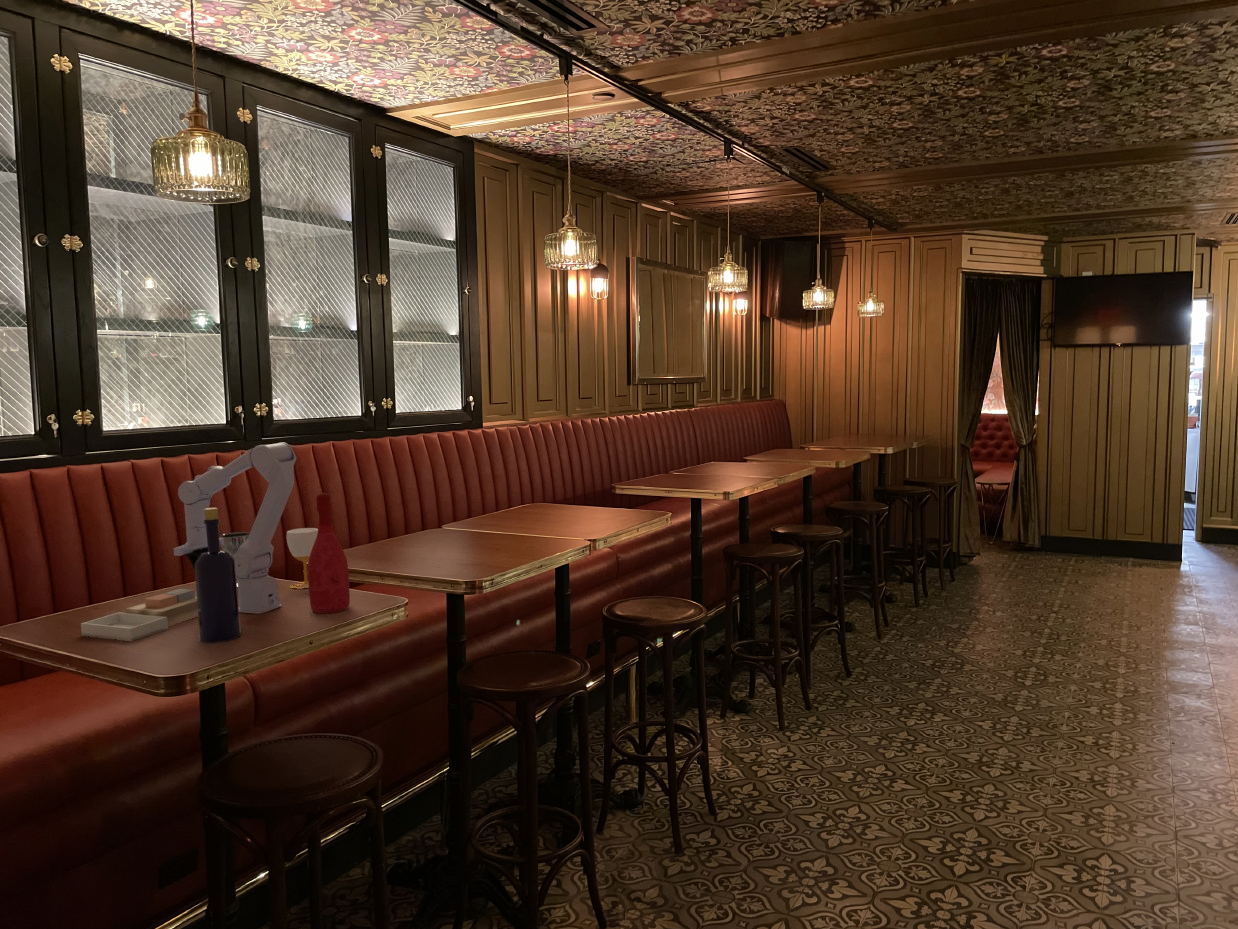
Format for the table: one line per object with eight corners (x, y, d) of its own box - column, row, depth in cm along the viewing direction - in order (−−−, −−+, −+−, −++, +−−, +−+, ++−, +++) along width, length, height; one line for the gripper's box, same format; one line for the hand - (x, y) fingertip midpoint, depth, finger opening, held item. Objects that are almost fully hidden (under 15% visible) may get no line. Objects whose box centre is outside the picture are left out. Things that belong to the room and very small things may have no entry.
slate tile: (195, 597, 222) (194, 590, 222) (179, 602, 218) (178, 594, 218) (180, 596, 224) (179, 588, 224) (164, 601, 220) (163, 593, 219)
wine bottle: (301, 613, 220) (293, 495, 217) (328, 603, 229) (321, 490, 226) (332, 616, 216) (325, 496, 213) (358, 606, 225) (351, 491, 222)
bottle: (211, 631, 205) (201, 506, 202) (249, 630, 205) (240, 505, 202) (190, 643, 196) (180, 512, 193) (231, 642, 196) (220, 511, 193)
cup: (294, 591, 243) (290, 534, 242) (285, 585, 251) (281, 530, 249) (327, 585, 249) (323, 530, 247) (317, 580, 256) (313, 526, 254)
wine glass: (242, 589, 248) (238, 537, 246) (218, 588, 249) (214, 537, 248) (259, 582, 255) (255, 532, 254) (235, 582, 257) (231, 532, 255)
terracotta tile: (177, 603, 217) (176, 595, 217) (160, 608, 213) (159, 600, 212) (162, 601, 219) (161, 593, 219) (145, 606, 214) (144, 598, 214)
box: (168, 629, 208) (167, 617, 208) (131, 641, 199) (130, 628, 199) (119, 624, 214) (118, 612, 214) (81, 635, 205) (80, 623, 204)
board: (209, 612, 222) (208, 597, 222) (163, 628, 209) (162, 611, 209) (174, 609, 227) (173, 594, 226) (127, 624, 214) (126, 608, 213)
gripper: (208, 521, 234) (212, 570, 236) (163, 530, 221) (167, 582, 222) (228, 522, 232) (232, 572, 233) (184, 531, 218) (188, 584, 220)
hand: (202, 577), depth 228 cm, fingers closed
